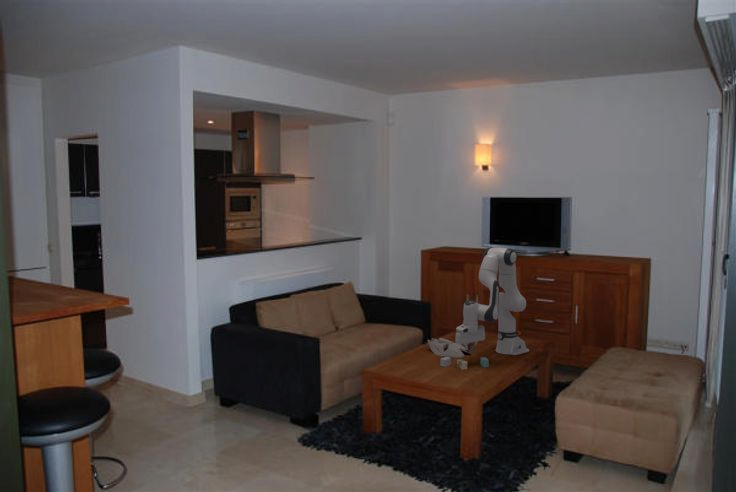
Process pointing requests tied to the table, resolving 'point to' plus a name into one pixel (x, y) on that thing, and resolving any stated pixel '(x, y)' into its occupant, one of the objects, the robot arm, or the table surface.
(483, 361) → the teal block
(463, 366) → the maple block
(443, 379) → the table surface
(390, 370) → the table surface
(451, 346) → the mask
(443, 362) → the grey block
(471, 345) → the walnut block
